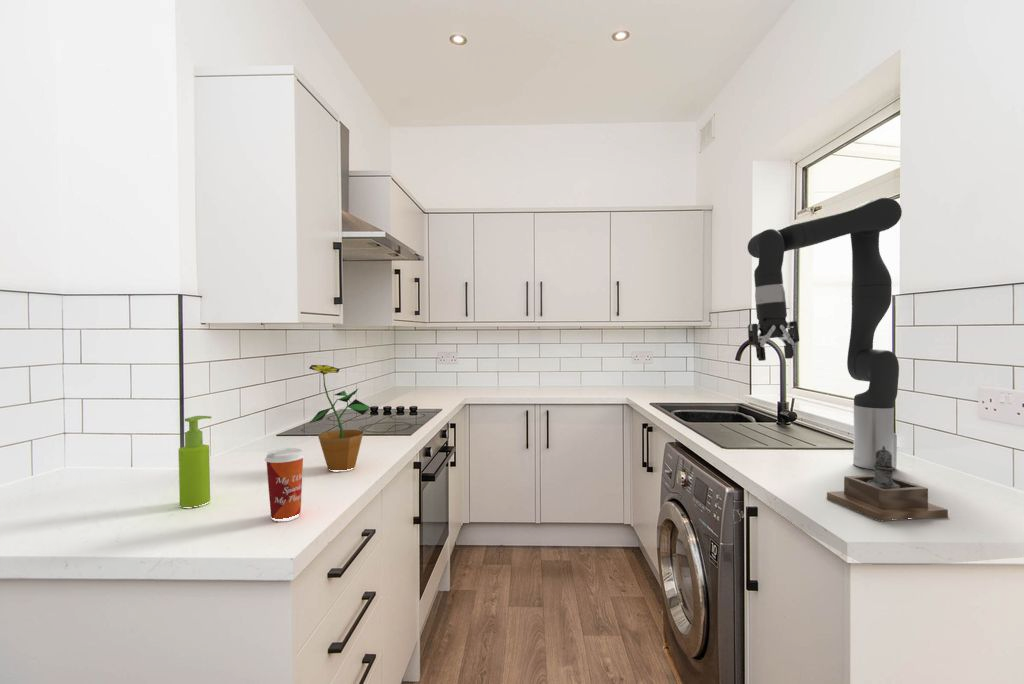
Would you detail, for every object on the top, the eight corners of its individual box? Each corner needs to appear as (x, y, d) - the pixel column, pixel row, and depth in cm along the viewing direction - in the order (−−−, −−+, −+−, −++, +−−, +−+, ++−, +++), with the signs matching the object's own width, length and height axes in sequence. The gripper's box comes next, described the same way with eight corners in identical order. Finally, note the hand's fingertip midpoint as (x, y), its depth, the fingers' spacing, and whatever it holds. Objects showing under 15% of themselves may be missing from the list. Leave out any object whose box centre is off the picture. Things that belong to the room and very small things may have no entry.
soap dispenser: (220, 499, 117) (218, 414, 116) (192, 510, 110) (190, 420, 110) (201, 497, 119) (199, 413, 118) (173, 507, 112) (171, 418, 112)
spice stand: (888, 494, 117) (888, 471, 117) (947, 516, 104) (948, 490, 103) (826, 498, 115) (827, 474, 115) (879, 521, 101) (879, 494, 101)
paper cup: (280, 527, 100) (278, 457, 100) (258, 519, 104) (256, 453, 104) (313, 514, 107) (312, 449, 107) (291, 508, 111) (290, 445, 111)
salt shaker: (906, 505, 106) (906, 449, 106) (875, 503, 107) (875, 448, 107) (890, 496, 112) (891, 443, 111) (861, 495, 113) (862, 442, 113)
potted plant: (314, 482, 130) (312, 367, 129) (304, 465, 146) (302, 363, 145) (382, 472, 139) (381, 364, 138) (365, 457, 155) (364, 361, 154)
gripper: (756, 301, 135) (762, 361, 135) (802, 299, 138) (808, 357, 137) (739, 304, 143) (744, 361, 142) (783, 302, 145) (788, 357, 145)
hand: (775, 359), depth 140 cm, fingers open, 8 cm apart
